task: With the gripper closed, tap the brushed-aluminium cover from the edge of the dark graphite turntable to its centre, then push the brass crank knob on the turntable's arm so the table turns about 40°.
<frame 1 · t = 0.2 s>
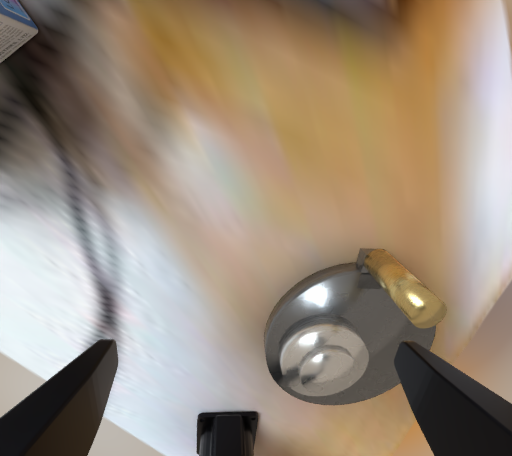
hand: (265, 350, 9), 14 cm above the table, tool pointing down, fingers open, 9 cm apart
cover: (318, 346, 24), point 3 cm above the table, touching turntable
turntable: (366, 359, 22), point 5 cm above the table, hinge at 0.0°, touching cover
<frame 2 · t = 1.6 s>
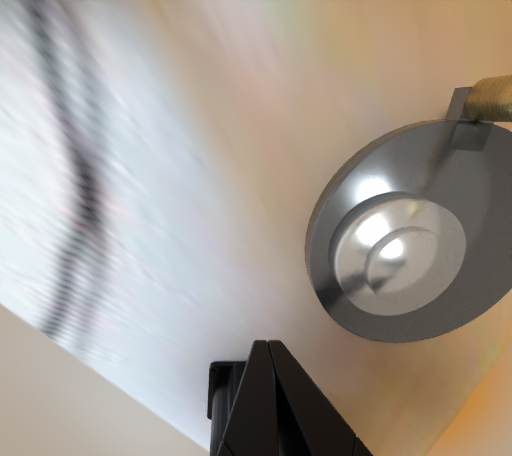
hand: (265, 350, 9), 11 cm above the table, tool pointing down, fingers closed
cover: (384, 247, 17), point 3 cm above the table, touching turntable
turntable: (463, 251, 15), point 5 cm above the table, hinge at 0.0°, touching cover
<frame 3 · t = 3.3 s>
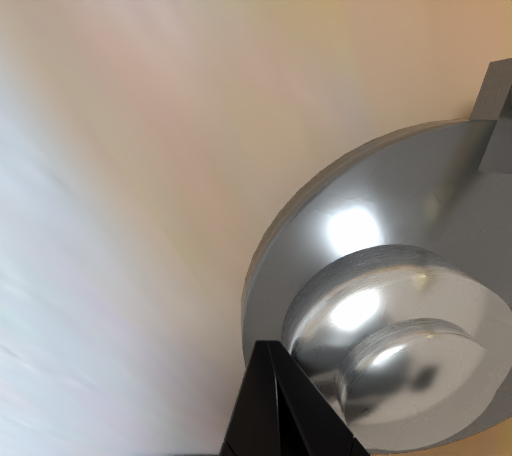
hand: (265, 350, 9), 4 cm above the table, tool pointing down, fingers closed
cover: (374, 329, 10), point 3 cm above the table, touching gripper, turntable
turntable: (503, 357, 8), point 5 cm above the table, hinge at 0.0°, touching cover
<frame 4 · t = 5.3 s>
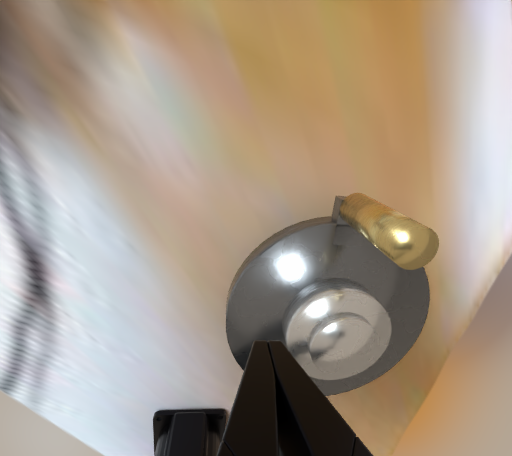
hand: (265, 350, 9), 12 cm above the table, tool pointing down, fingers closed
cover: (329, 320, 20), point 3 cm above the table, touching turntable
turntable: (345, 331, 18), point 5 cm above the table, hinge at 0.0°, touching cover
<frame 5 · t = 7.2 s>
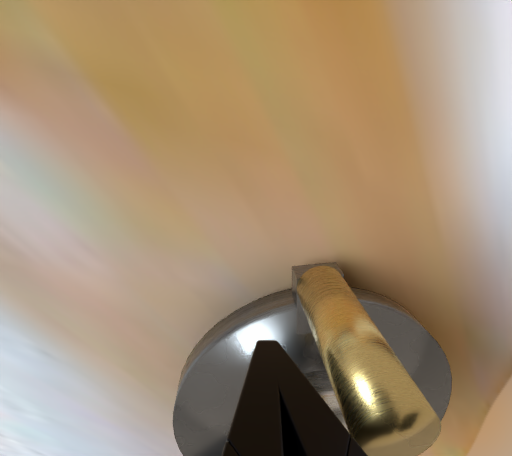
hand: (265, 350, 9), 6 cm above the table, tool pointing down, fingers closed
cover: (315, 418, 15), point 3 cm above the table, touching turntable
turntable: (330, 454, 13), point 5 cm above the table, hinge at -0.4°, touching cover, gripper
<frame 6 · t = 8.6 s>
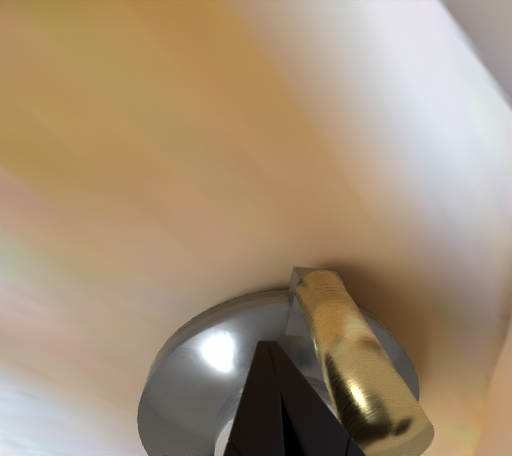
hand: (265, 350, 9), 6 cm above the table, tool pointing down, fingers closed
cover: (281, 421, 15), point 3 cm above the table, touching turntable
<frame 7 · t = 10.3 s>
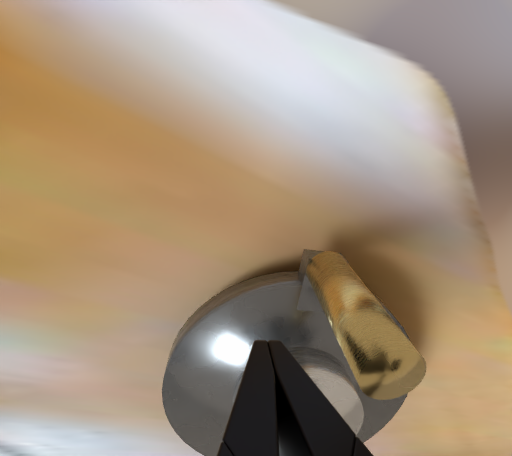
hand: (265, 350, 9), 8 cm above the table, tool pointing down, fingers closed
cover: (291, 392, 17), point 3 cm above the table, touching turntable
turntable: (304, 420, 14), point 5 cm above the table, hinge at -48.9°, touching cover
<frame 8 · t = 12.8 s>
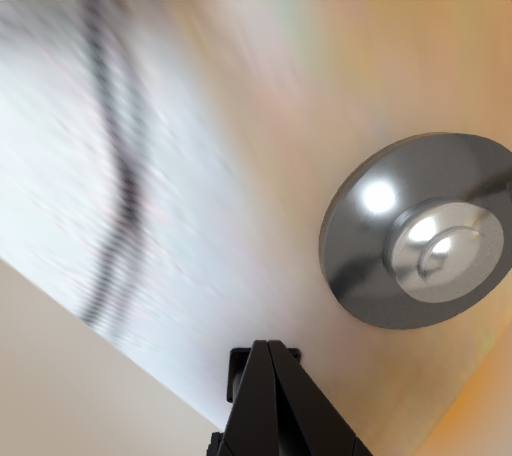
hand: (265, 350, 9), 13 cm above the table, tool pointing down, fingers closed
cover: (429, 244, 20), point 3 cm above the table, touching turntable
turntable: (466, 251, 18), point 5 cm above the table, hinge at -48.9°, touching cover
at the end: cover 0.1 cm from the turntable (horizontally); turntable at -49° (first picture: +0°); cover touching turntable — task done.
